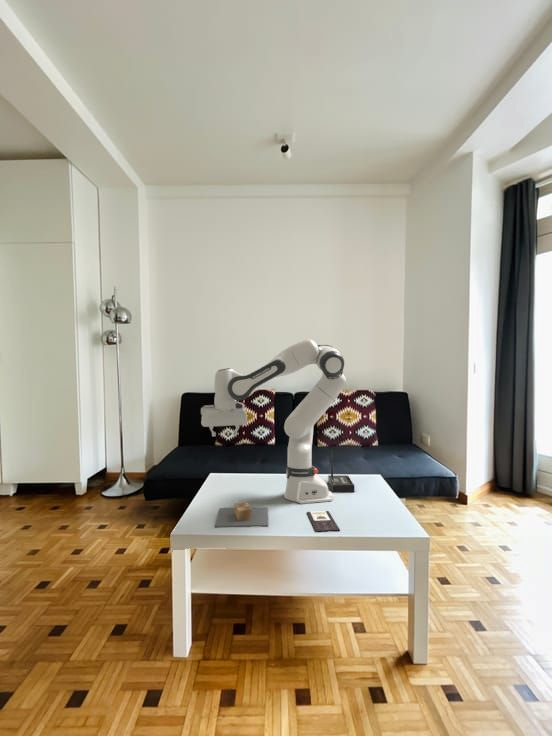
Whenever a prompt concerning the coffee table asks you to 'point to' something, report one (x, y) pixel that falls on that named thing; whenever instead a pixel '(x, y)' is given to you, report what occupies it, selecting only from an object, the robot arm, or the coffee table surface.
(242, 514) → the oak block
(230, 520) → the charcoal mat
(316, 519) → the chocolate bar
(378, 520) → the coffee table surface
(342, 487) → the wireless controller
